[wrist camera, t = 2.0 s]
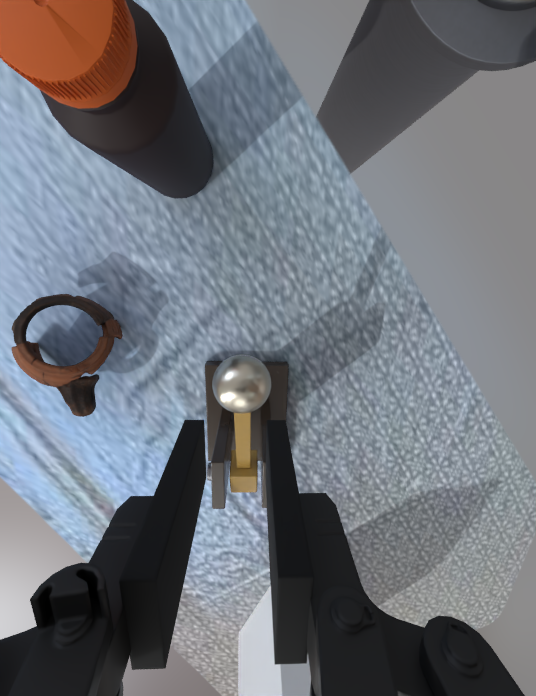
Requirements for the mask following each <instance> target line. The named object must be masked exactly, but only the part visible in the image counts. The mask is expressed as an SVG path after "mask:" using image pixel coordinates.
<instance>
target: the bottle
mask: <svg viewBox="0 0 536 696" xmlns="http://www.w3.org/2000/svg"><path fill="white" fill-rule="evenodd" d="M0 58H2V60H3V61H4V62H5V63H7V64H8V66H10V67H11V68H12V69H14V70H15V71H16V72H17V73H19V74H20V75H21V76H23V77H24V78H25V79H27V80H28V81H29V82H31V83H32V84H33V85H35V86H36V87H37V88H39V89H40V91H41V93H42V95H43V97H44V99H45V101H46V103H47V105H48V107H49V109H50V111H51V113H52V115H53V116H54V117H55V119H56V120H57V121H58V122H59V123H60V124H61V126H62V127H63V128H64V129H65V130H66V131H67V132H68V134H69V135H70V136H71V137H73V138H74V139H76V140H77V141H79V142H80V143H82V144H83V145H85V146H86V147H88V148H89V149H91V150H93V151H94V152H96V153H97V154H99V155H101V156H102V157H104V158H105V159H107V160H109V161H110V162H112V163H113V164H115V165H117V166H118V167H120V168H121V169H123V170H125V171H126V172H128V173H129V174H131V175H133V176H134V177H136V178H137V179H139V180H141V181H142V182H144V183H145V184H147V185H149V186H150V187H152V188H153V189H155V190H157V191H158V192H160V193H161V194H163V195H165V196H169V197H172V198H187V197H190V196H192V195H194V194H197V193H198V192H199V191H200V190H201V189H202V188H203V187H204V186H205V185H206V183H207V182H208V180H209V178H210V176H211V172H212V167H213V154H212V148H211V146H210V143H209V140H208V138H207V135H206V133H205V130H204V128H203V126H202V123H201V121H200V118H199V116H198V113H197V111H196V108H195V106H194V104H193V101H192V99H191V96H190V94H189V91H188V89H187V86H186V84H185V82H184V79H183V77H182V74H181V72H180V69H179V67H178V65H177V62H176V60H175V57H174V55H173V52H172V50H171V47H170V45H169V43H168V40H167V38H166V36H165V34H164V33H163V32H162V30H161V29H160V28H159V26H158V25H157V23H156V22H155V21H154V19H153V18H152V17H151V15H150V14H149V13H148V12H147V11H146V10H144V9H143V8H142V7H141V6H139V5H138V4H137V3H135V2H134V1H133V0H0Z"/></svg>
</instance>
